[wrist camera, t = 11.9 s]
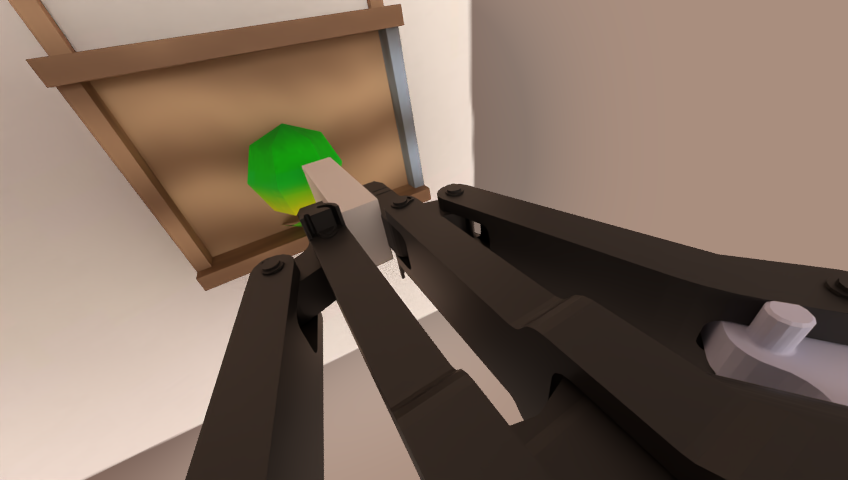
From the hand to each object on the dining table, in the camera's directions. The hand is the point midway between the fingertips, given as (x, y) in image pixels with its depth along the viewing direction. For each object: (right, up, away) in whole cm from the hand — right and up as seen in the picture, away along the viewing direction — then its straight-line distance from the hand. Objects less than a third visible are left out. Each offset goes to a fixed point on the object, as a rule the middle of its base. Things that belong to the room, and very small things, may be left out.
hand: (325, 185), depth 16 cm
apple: (-5, +2, +9) cm, 11 cm away
